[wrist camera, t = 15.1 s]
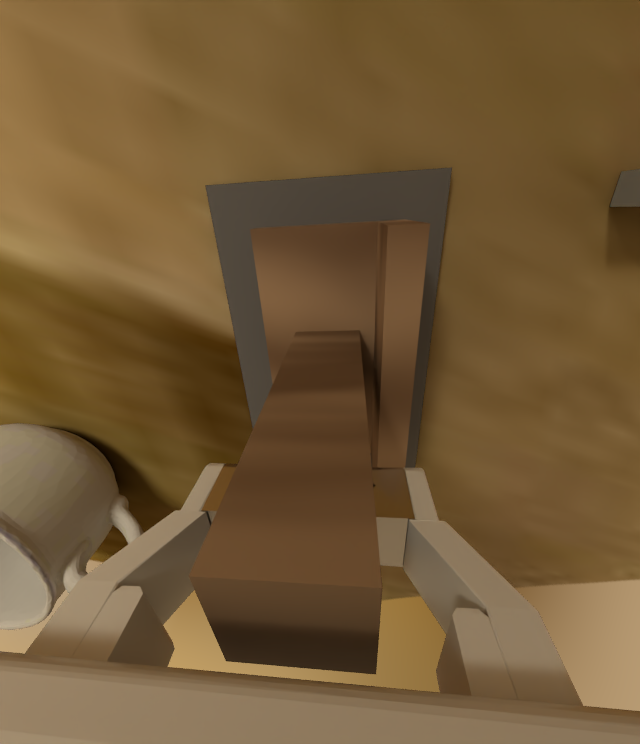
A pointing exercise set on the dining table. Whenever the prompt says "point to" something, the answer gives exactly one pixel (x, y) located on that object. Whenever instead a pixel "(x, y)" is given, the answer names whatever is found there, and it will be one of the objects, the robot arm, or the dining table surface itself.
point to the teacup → (51, 517)
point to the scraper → (318, 447)
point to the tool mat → (311, 207)
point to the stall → (627, 190)
